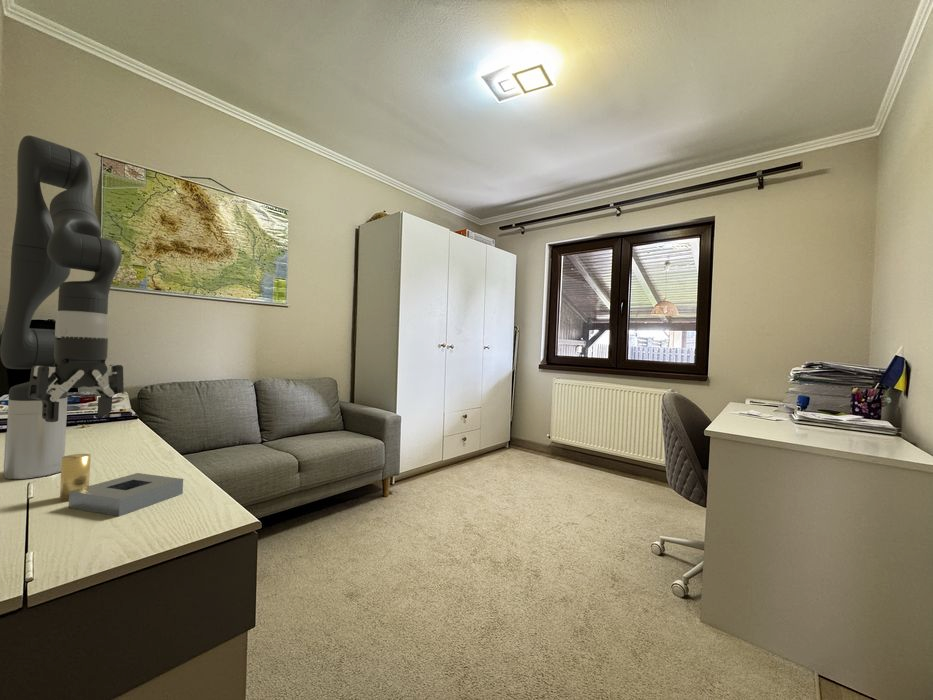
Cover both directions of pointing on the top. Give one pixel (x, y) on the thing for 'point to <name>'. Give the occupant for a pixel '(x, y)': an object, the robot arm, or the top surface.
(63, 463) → the brass cylinder
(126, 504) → the frame
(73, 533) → the top surface
